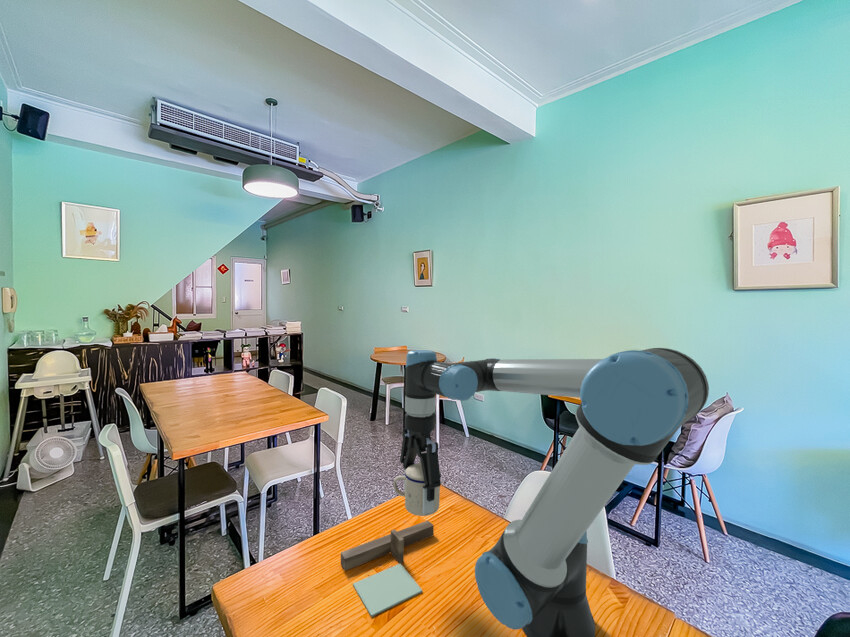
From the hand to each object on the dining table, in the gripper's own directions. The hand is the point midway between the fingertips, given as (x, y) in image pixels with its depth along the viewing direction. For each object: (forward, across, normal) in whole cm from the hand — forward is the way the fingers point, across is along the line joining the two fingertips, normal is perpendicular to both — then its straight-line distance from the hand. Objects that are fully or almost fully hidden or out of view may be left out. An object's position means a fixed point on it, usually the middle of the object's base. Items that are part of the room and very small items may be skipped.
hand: (418, 502), depth 88 cm
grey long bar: (+18, +9, +2) cm, 20 cm away
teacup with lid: (+2, +1, 0) cm, 2 cm away
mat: (+18, -1, +8) cm, 20 cm away
